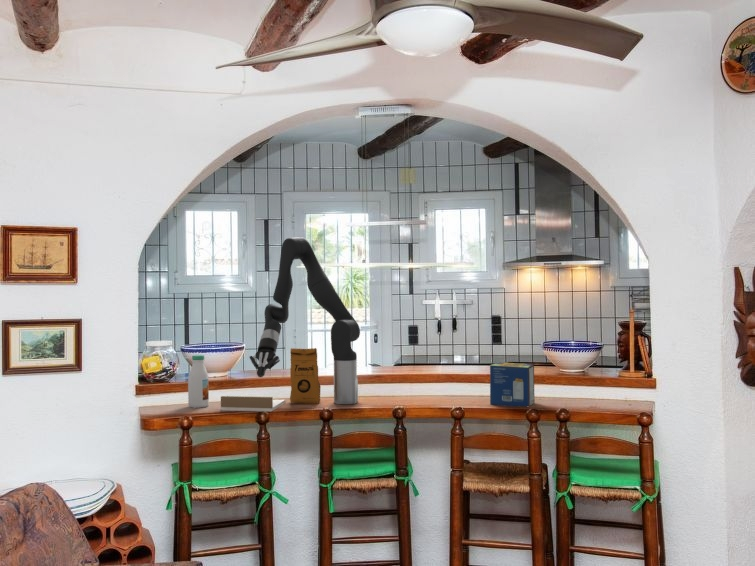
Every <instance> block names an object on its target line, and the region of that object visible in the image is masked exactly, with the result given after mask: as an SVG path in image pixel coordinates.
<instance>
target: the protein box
mask: <svg viewBox="0 0 755 566" xmlns="http://www.w3.org/2000/svg"><path fill="white" fill-rule="evenodd" d="M489 381H490V382H489V390H490V392H489V404H490V405H492V404H494V405H495V406H504V405H505V406H504V407H507V406H508V407H517V406H529V407H531V406H532V405H533V404H535V403H536V402H535V364H534V363H516V362H515V363H513V362H498V361H497V362H495V363H492V364H490V365H489ZM530 405H531V406H530Z"/></svg>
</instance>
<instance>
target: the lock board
mask: <svg viewBox="0 0 755 566" xmlns="http://www.w3.org/2000/svg"><path fill="white" fill-rule="evenodd" d="M284 404H286V399H273V396H241V395H238V396H235V395H221V396H220V411H230V412H231V411H232V412H233V411H234V412H235V411H237V412H238V411H239V412H273V411H275V410H276V409H278V408H280V407H281V406H283V405H284Z"/></svg>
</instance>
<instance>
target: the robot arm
mask: <svg viewBox="0 0 755 566" xmlns="http://www.w3.org/2000/svg"><path fill="white" fill-rule="evenodd" d="M280 251H281V252H280V256H279V257H280V258H279V267H278V276H277V282H276V285H275V289H274V292H273V296H272V299H273V301H275V302H276V303H278V304H279V305H278V304H277V305H276V304H274V303H270V304H268V305H266V306H265V308H264V327H263V331H262V334H261V336H260V340H259V343H258V347H257V351H256V352H255V354H254V355H249V360H250V362H251V364H252V365H253V366H254V369H256V375H257V377H258V378H263V377H264V376H265V373H266V371H267V370H271V369H273V367H274V366H276V365H277V364H278V363H279V362H280V361H281V360H280V357H279V355H276V354H277V353H276V352H277V350H278V349H277V348H278V345H279V341H280V335H281V332H282V331H281V330H282V325H281V324H285V323H286V322H287V321H288V320H289V316H290V315H289V313H290V312H289V304H290V299H291V294H292V291H293V287H294V283H293V277H292V273H291V272H292V265H293V263H294V260H300V261H301V263H302V264H303V266H304V267H305V268H304V269H305V270H306V285H307V288H308V290H309V292H310V294H311V296H312V297H313V298H314V300H315V302H317V304H318V305H319V306H321V307H322V309H324V310H325V311H326V312H328V314H330V316H331V317H332V318H333V320H334V322H333V324H332V325H331V328H330V345H331V347H330V348H331V353H332V356H333V403H334V404H337V405H352V404H353V405H355V404H356V403H358V401H359V378H358V375H357V372H358V371H357V366H358V365H357V363H358V362H357V361H358V360H357V352H356V351H354V350H353V348H352V343H353V342H355V341H358V339H359V337H360V335H361V328H360V326H359V323H358V322H357V320H356V319H355V318H354V317H353V315H352V314H351V312H350V311H349V310H348V308H346V306H345V304H344V302H343V301H342V299H341V298H340V296H339V294H338V293H337V291H336V288H335V287H334V286H333V284H332V281H330V278H329V277H328V276H327V275H326V273H325V271H324V269H323V267H322V266H321V263H320V262H319V261H318V258H317V255H316V254H315V251H314V249H313V247H312V245H311V244H310V242H309V240H307V239H306V238H305V237H302V236H300V237H299V236H298V237H296V236H295V237H288V238H285V239H284V240H283V242H282V245H281V250H280ZM257 361H258V362H257Z"/></svg>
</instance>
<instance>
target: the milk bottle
mask: <svg viewBox="0 0 755 566" xmlns="http://www.w3.org/2000/svg"><path fill="white" fill-rule="evenodd" d="M191 359H192V361H191V362H192V364H191V368H190V371H189V373H188V376H187V377H188V379H187V380H188V381H187V384H188V385H187V392H188V394H187V395H188V397H187V399H188V401H187V402H188V403H187V404H188V407H189V408H195V409H197V408H205V407H208V406H209V401H210V397H209V396H210V395H209V373H208V370H207V368H206V366H205V355H203V354H194V355H192V357H191Z"/></svg>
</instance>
